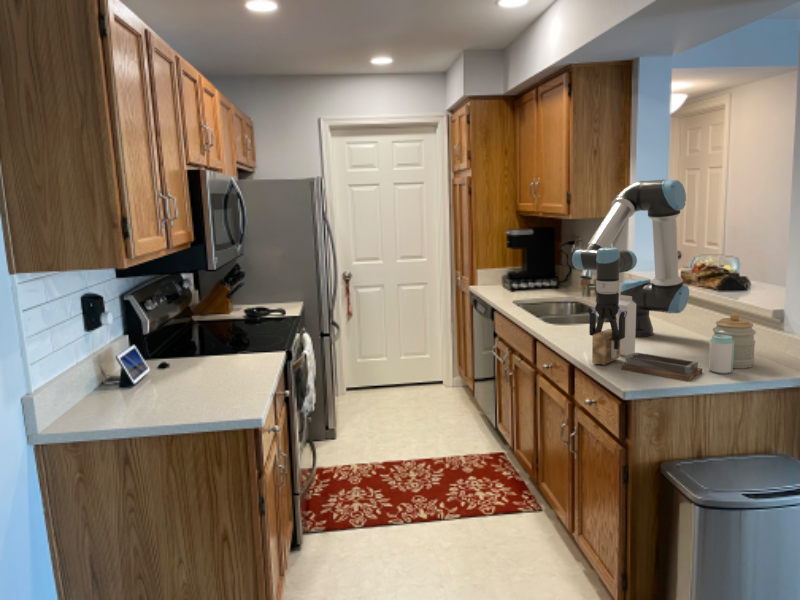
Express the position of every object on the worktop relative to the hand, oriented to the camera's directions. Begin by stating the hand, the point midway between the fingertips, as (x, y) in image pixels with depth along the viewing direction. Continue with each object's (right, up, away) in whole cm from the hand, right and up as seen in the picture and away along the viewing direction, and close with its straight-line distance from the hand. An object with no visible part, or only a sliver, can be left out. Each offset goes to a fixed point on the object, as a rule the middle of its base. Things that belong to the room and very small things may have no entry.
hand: (606, 356), depth 211 cm
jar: (+41, -2, -7) cm, 41 cm away
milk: (+10, 0, +12) cm, 16 cm away
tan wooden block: (0, -1, 0) cm, 1 cm away
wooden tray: (+14, -4, -13) cm, 19 cm away
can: (+32, -4, -16) cm, 36 cm away
